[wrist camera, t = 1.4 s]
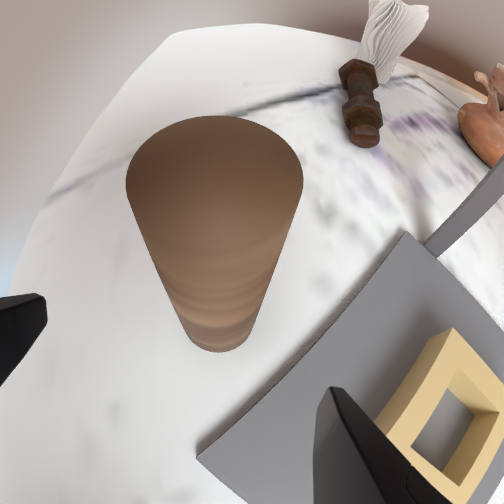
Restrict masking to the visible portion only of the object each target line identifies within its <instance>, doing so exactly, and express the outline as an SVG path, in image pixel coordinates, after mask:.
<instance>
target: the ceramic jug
mask: <svg viewBox="0 0 504 504" xmlns="http://www.w3.org/2000/svg"><path fill="white" fill-rule="evenodd" d="M475 79H476V80H477V81H479V82H481V83H483V84H484V85H485V87H486V88H487V91H488V93H489V94H488V103H487V104H479V103H466V104H464V105H463V106H462V107H461V109H460V110H459V112H458V123H459V127H460V130H461V132H462V134H463V136H464V137H465V139H466V141H467V142H468V144H469V145H470V146H471V148H472V149H473V150H474V151H475V153H476V154H477V155H478V156H479V157H480V158H481V159H482V160H483V161H484V162H485V163H486V164H487V165H488V166H490V167H491V168H493V166H494V165H495V164H496V163H497V161H498V160H499V159H500V158H501V156H502V155H503V154H504V66H503V65H501V64H499V63H496V65H495V67H494V70H493V73H492V76H491V79H489V78H488V77H487V76H486V75H485V74H483V73H481V72H475Z"/></svg>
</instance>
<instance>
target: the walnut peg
mask: <svg viewBox="0 0 504 504" xmlns="http://www.w3.org/2000/svg"><path fill="white" fill-rule="evenodd" d="M302 190H303V171H302V167H301V164H300V161H299V159H298V157H297V155H296V154H295V152H294V151H293V149H292V148H291V147H290V146H289V145H288V143H287V142H286V141H285V140H283V139H282V138H281V137H280V136H279V135H277V134H276V133H275V132H273V131H272V130H270V129H268V128H266V127H264V126H262V125H260V124H257V123H255V122H252V121H249V120H246V119H241V118H237V117H230V116H202V117H195V118H191V119H186V120H183V121H180V122H177V123H174V124H172V125H170V126H168V127H166V128H164V129H162V130H160V131H159V132H157V133H156V134H154V135H153V136H151V137H150V138H149V139H148V140H147V141H146V142H145V143H144V144H143V145H142V146H141V147H140V148H139V149H138V151H137V152H136V153H135V155H134V156H133V158H132V160H131V162H130V165H129V167H128V170H127V175H126V192H127V197H128V200H129V203H130V205H131V208H132V211H133V213H134V216H135V218H136V221H137V224H138V226H139V229H140V231H141V234H142V236H143V239H144V241H145V243H146V246H147V248H148V251H149V253H150V256H151V258H152V260H153V263H154V265H155V267H156V269H157V272H158V274H159V276H160V279H161V281H162V283H163V285H164V288H165V290H166V292H167V294H168V296H169V298H170V301H171V303H172V305H173V307H174V309H175V311H176V313H177V315H178V317H179V319H180V322H181V324H182V326H183V328H184V330H185V332H186V334H187V335H188V337H189V338H190V340H191V341H192V342H193V343H194V344H196V345H197V346H198V347H200V348H202V349H204V350H207V351H210V352H226V351H230V350H233V349H235V348H237V347H238V346H240V345H241V344H242V343H243V342H244V341H245V340H246V339H247V338H248V336H249V335H250V332H251V330H252V328H253V325H254V322H255V320H256V317H257V315H258V312H259V309H260V307H261V304H262V302H263V299H264V296H265V294H266V291H267V288H268V286H269V283H270V280H271V278H272V275H273V272H274V269H275V267H276V264H277V261H278V259H279V256H280V253H281V250H282V248H283V245H284V242H285V239H286V237H287V234H288V231H289V228H290V226H291V223H292V220H293V217H294V214H295V212H296V209H297V206H298V203H299V200H300V197H301V194H302Z"/></svg>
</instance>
